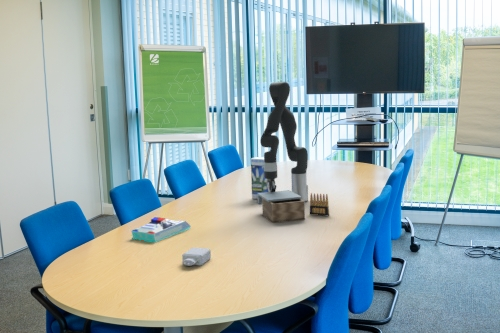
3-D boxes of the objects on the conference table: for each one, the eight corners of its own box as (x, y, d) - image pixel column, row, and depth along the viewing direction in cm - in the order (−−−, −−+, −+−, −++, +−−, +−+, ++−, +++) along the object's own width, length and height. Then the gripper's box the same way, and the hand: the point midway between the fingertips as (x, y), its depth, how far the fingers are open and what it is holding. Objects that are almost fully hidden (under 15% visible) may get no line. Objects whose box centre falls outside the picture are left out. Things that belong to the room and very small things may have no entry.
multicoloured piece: (128, 240, 284) (126, 223, 283) (167, 225, 309) (166, 209, 308) (154, 244, 275) (153, 226, 274) (192, 229, 301) (191, 212, 299)
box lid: (289, 200, 333) (289, 190, 332) (301, 207, 314) (301, 196, 313) (257, 203, 327) (257, 193, 326) (268, 211, 309) (268, 200, 308)
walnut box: (293, 212, 327) (292, 194, 325) (304, 219, 310) (304, 201, 308) (262, 215, 322) (262, 197, 320) (273, 222, 305) (272, 204, 303)
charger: (176, 269, 238) (191, 257, 252) (196, 270, 235) (210, 259, 249) (175, 258, 238) (190, 247, 251) (196, 259, 235) (210, 248, 248)
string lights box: (251, 198, 365) (250, 158, 361) (257, 196, 372) (255, 156, 368) (270, 200, 359) (269, 159, 355) (275, 197, 366) (274, 157, 362)
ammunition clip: (329, 215, 317) (328, 193, 315) (328, 215, 315) (327, 194, 313) (310, 213, 322) (310, 192, 320) (309, 214, 320) (309, 193, 318)
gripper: (280, 171, 325) (281, 201, 328) (273, 167, 338) (274, 196, 340) (267, 172, 323) (268, 202, 326) (261, 168, 336) (261, 197, 338)
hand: (271, 199), depth 333 cm, fingers closed
